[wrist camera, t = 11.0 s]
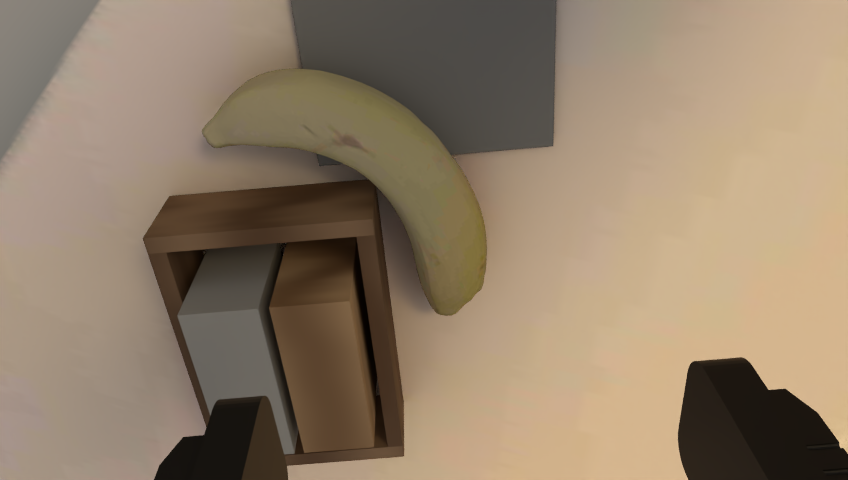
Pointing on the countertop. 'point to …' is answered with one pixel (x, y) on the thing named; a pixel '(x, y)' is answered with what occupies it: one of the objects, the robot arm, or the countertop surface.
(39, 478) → the countertop surface
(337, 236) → the wooden tray
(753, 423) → the robot arm
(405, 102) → the mat
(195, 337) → the offcut grey
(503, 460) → the countertop surface
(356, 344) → the offcut teak
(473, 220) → the fruit
